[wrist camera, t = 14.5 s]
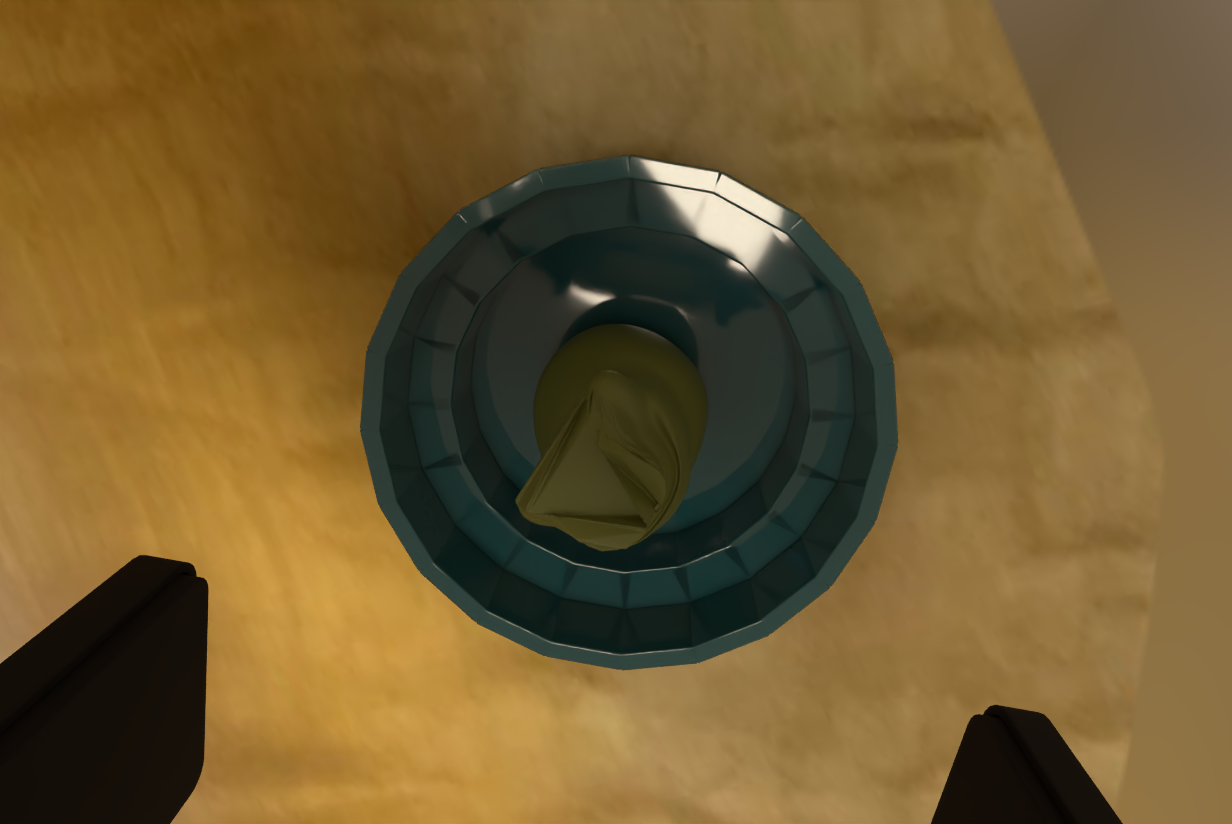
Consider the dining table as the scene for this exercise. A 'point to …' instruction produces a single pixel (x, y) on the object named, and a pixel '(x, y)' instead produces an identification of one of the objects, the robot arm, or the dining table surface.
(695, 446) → the pear
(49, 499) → the dining table surface
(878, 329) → the bowl
